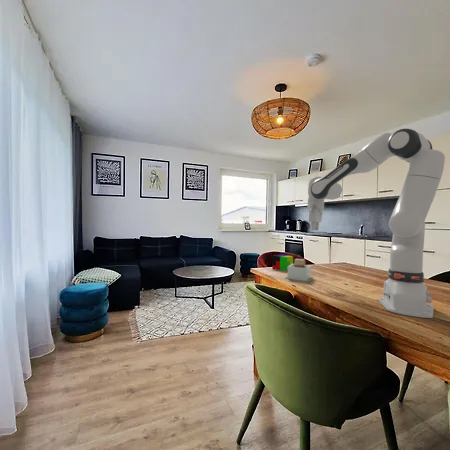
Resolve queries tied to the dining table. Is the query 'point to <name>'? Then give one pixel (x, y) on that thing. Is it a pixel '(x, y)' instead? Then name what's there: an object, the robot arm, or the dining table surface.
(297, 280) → the tray
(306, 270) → the grey box
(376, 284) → the dining table surface
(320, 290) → the dining table surface
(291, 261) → the puzzle toy
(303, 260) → the oak cube
